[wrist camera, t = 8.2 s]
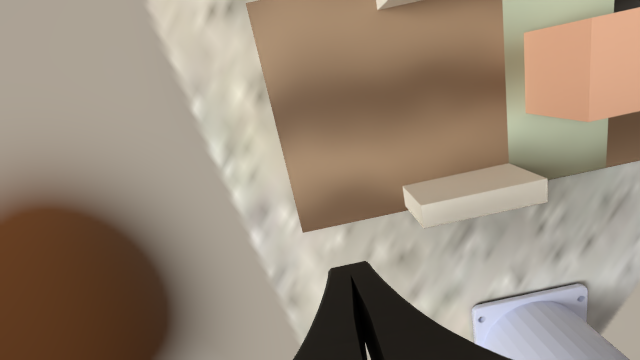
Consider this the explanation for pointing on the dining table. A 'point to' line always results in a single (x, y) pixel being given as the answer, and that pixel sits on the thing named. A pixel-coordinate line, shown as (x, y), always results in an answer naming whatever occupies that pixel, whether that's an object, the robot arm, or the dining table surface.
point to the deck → (416, 98)
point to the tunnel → (471, 187)
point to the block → (584, 68)
